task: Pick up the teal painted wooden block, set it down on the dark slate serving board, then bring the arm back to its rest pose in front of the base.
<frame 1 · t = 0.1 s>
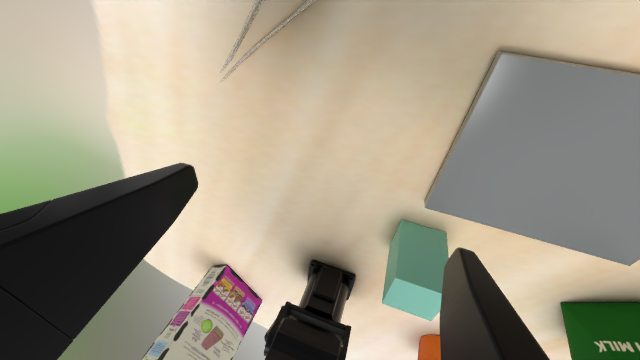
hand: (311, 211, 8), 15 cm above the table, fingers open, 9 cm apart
tweezers: (260, 33, 21), on the table
board: (568, 167, 18), on the table
block: (416, 239, 27), on the table
paper cup: (439, 343, 38), on the table
milk carton: (610, 320, 26), on the table
candy bar box: (238, 282, 49), on the table
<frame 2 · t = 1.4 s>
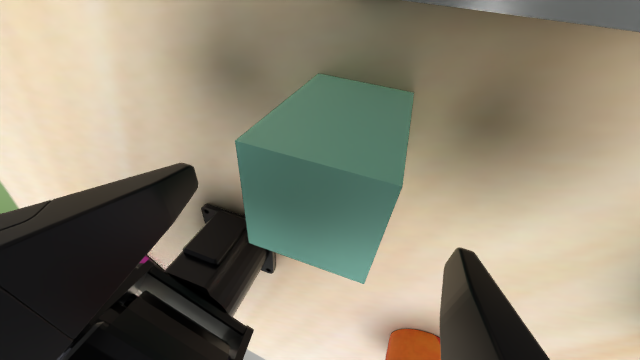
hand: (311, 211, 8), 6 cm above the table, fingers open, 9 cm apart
block: (355, 126, 13), on the table
paper cup: (420, 342, 24), on the table
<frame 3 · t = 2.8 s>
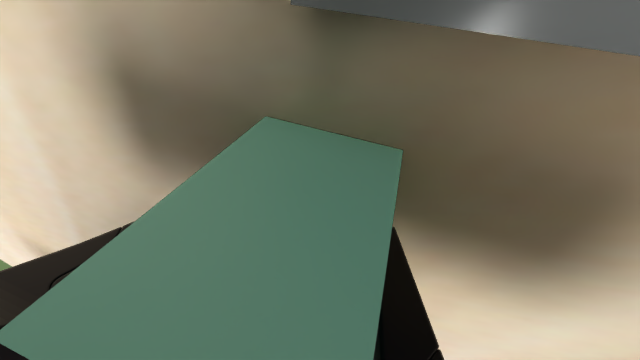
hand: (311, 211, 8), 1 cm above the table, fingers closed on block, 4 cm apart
block: (323, 186, 9), on the table, touching gripper
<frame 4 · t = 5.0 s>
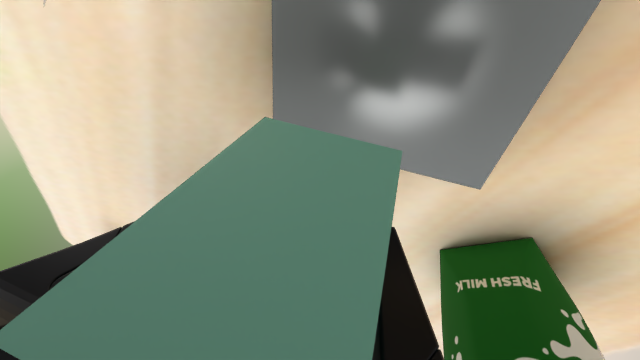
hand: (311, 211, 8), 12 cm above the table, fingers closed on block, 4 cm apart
board: (393, 69, 16), on the table
block: (322, 187, 9), point 11 cm above the table, touching gripper
milk carton: (492, 268, 23), on the table
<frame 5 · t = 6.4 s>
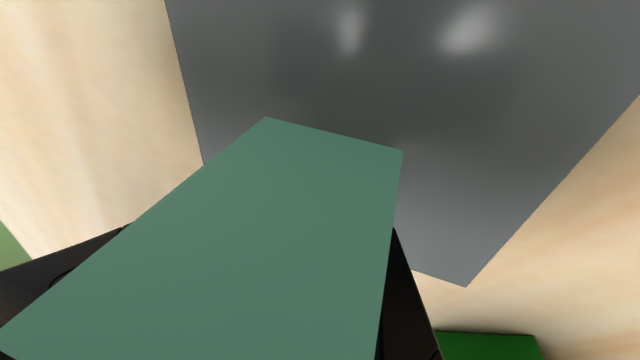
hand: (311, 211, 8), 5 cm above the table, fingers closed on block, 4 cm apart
board: (348, 140, 12), on the table
block: (323, 187, 9), point 4 cm above the table, touching gripper
milk carton: (484, 354, 19), on the table
when the fingers open (4 cm above the table, at t = 7.4 s): block drops 1 cm, resting on board.
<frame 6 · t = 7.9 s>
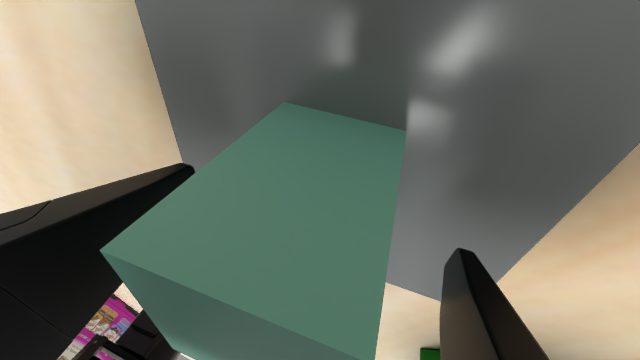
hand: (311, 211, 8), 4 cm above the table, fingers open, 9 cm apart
board: (340, 154, 11), on the table
block: (333, 167, 10), point 1 cm above the table, touching board
candy bar box: (117, 299, 41), on the table
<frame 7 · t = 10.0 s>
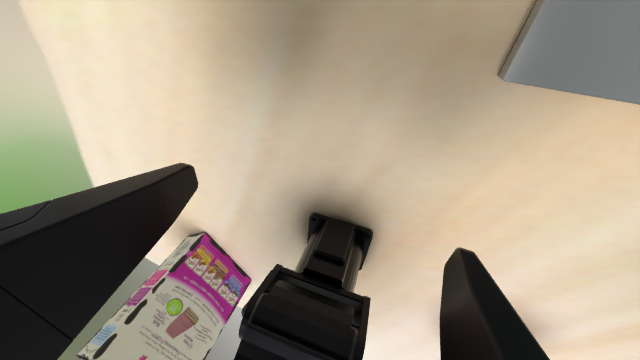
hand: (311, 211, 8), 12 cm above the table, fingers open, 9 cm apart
candy bar box: (221, 257, 39), on the table
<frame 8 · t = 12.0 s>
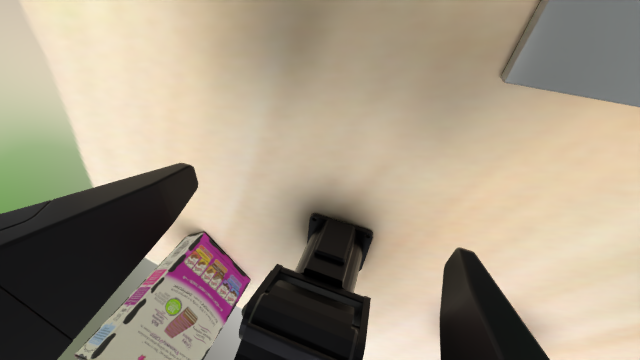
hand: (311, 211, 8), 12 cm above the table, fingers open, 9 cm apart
candy bar box: (220, 257, 39), on the table
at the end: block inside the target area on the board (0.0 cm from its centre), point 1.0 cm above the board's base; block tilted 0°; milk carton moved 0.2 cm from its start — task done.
